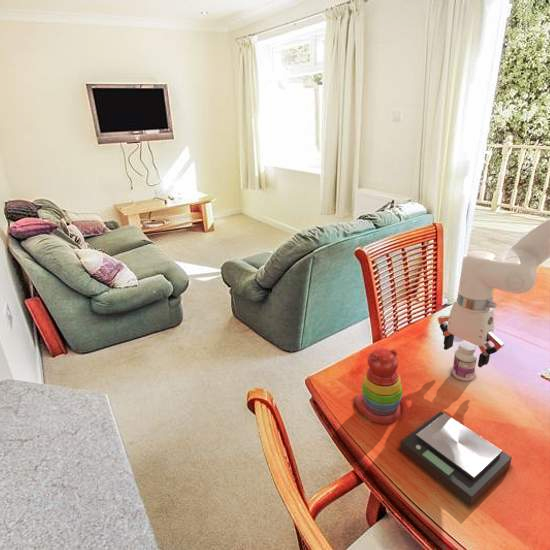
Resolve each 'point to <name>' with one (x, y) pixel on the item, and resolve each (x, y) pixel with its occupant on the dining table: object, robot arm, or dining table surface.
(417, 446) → the scale
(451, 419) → the weighing pan
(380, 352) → the stacking bear
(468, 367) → the pill bottle
